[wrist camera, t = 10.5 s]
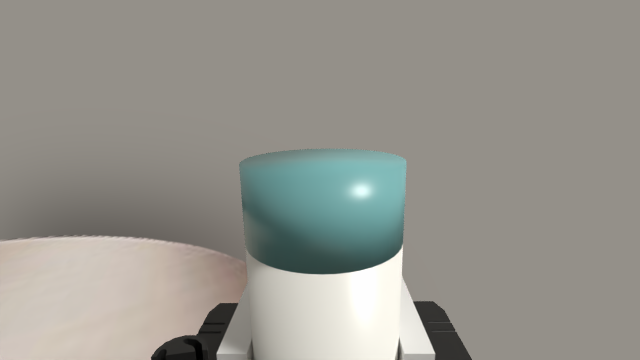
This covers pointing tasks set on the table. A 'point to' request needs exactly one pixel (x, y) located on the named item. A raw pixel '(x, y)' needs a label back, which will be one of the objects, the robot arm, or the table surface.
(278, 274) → the marker
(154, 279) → the table surface
